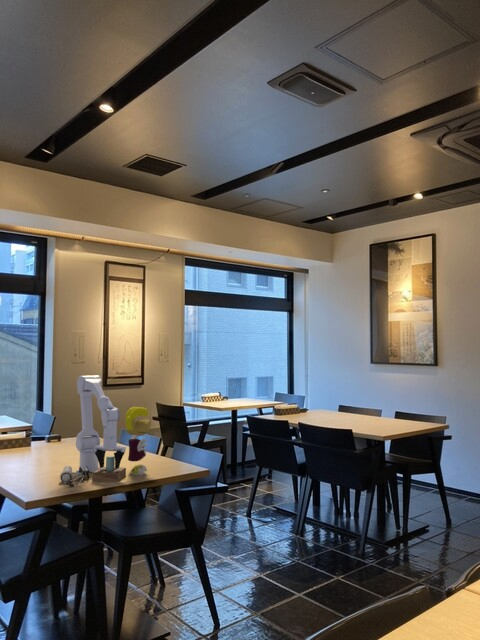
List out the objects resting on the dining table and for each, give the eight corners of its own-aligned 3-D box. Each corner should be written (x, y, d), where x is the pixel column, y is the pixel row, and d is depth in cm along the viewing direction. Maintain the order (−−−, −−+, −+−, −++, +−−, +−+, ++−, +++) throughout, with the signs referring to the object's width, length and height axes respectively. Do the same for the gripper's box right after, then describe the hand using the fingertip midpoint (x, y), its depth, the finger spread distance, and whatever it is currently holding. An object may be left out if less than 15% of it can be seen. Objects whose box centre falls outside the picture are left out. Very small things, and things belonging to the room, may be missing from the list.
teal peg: (104, 478, 219) (104, 457, 220) (108, 476, 223) (108, 456, 224) (111, 478, 218) (112, 457, 219) (115, 477, 222) (116, 456, 223)
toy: (149, 476, 222) (150, 408, 225) (122, 477, 221) (123, 408, 223) (150, 466, 244) (151, 404, 247) (125, 467, 242) (127, 404, 245)
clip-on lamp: (87, 493, 207) (89, 474, 224) (89, 478, 206) (90, 460, 223) (57, 492, 204) (61, 473, 221) (58, 477, 203) (62, 459, 220)
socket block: (102, 474, 226) (102, 467, 226) (125, 475, 225) (125, 467, 225) (92, 480, 215) (92, 472, 216) (116, 481, 214) (116, 473, 214)
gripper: (129, 435, 223) (128, 467, 222) (100, 434, 227) (100, 465, 226) (121, 438, 216) (120, 470, 215) (91, 436, 221) (91, 468, 220)
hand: (109, 467), depth 220 cm, fingers open, 7 cm apart
